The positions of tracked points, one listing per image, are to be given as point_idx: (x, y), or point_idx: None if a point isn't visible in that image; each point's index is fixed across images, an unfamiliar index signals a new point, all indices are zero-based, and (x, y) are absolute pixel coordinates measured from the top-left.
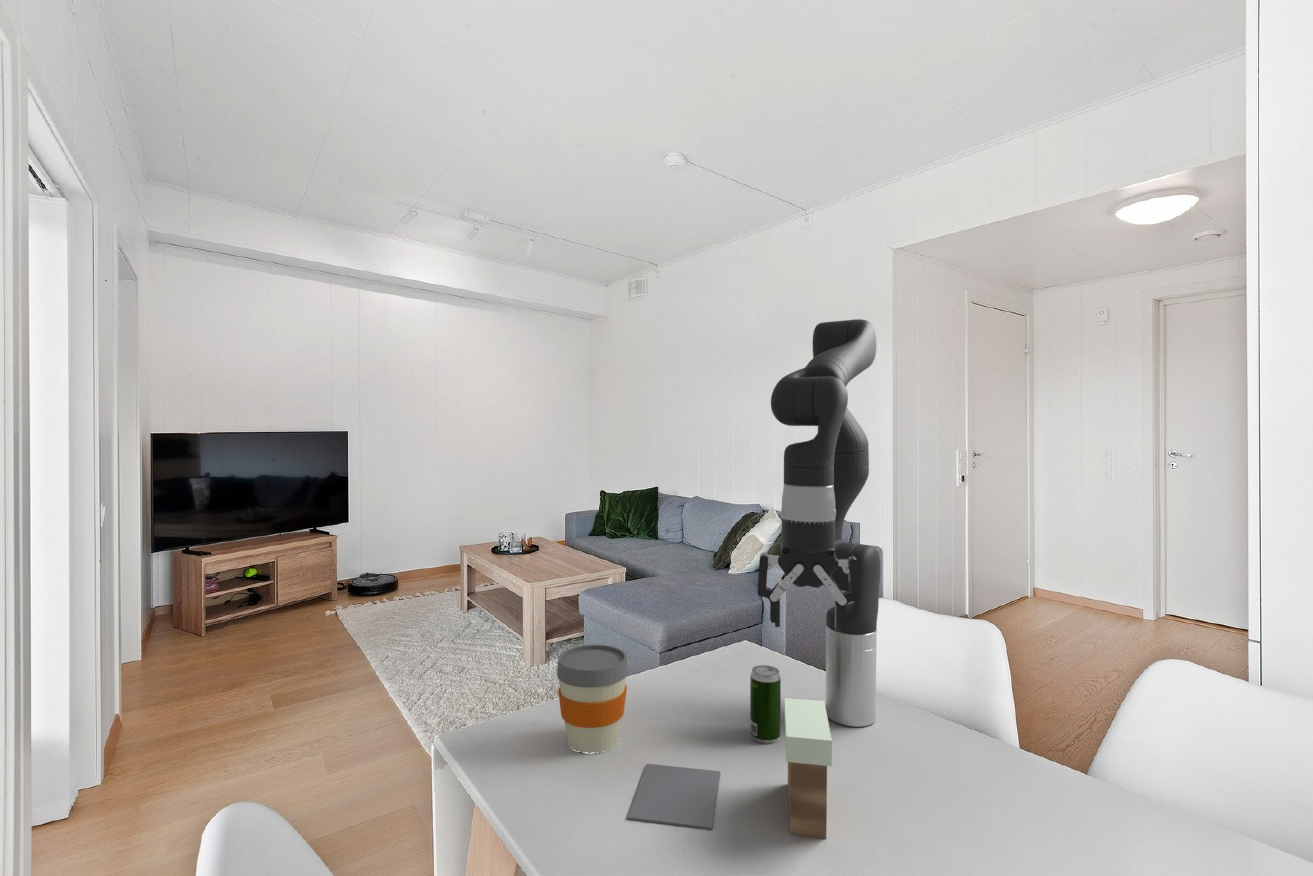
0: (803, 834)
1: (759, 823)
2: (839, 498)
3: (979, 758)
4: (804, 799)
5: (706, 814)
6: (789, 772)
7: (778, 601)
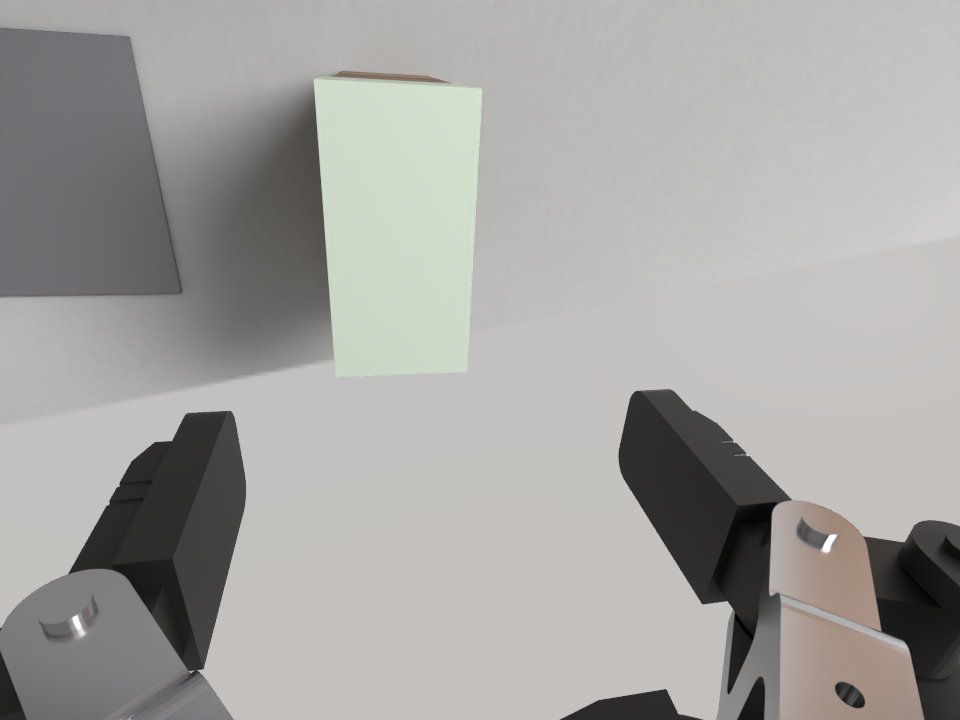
0: None
1: (283, 251)
2: None
3: None
4: None
5: (152, 251)
6: None
7: (181, 658)
